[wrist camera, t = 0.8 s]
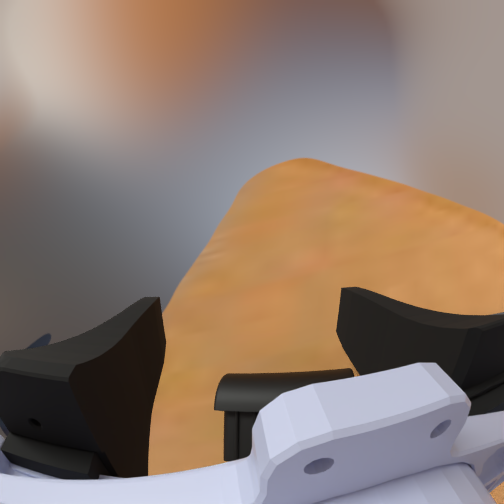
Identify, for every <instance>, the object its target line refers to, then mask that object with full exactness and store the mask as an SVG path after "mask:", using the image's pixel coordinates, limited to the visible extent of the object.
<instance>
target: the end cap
mask: <svg viewBox="0 0 504 504" xmlns="http://www.w3.org/2000/svg"><path fill="white" fill-rule="evenodd" d="M352 377H354V373H353V371H352V369H350V368H346V369H336V370H323V371H309V372H290V373H253V374H226V375H224V376H223V377H222V379H221V380H220V382H219V385H218V388H217V391H216V396H215V402H214V410H219V411H224V461H229V462H230V461H235V460H238V459H242V458H246V457H248V456H249V455H250V454H251V450H252V428H253V426H254V423H255V421H256V418H257V416H258V414H259V411H260V410H261V409H262V408H264V407H265V406H266V405H268V404H269V403H270V402H272V401H273V400H274V399H276V398H277V397H278V396H279V395H281V394H282V393H285V392H288V391H292V390H295V389H298V388H301V387H304V386H307V385H310V384H315V383H322V382H328V381H335V380H341V379H346V378H352Z"/></svg>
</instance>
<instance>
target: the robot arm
mask: <svg viewBox="0 0 504 504" xmlns="http://www.w3.org/2000/svg"><path fill="white" fill-rule="evenodd" d="M336 332H337V335H338V337H339V340H340V342H341V344H342V347H343V349H344V351H345V352H346V354H347V355H348V357H349V359H350V360H351V362H352V363H353V365H354V367H355V368H356V370H357V371H358V373H359V374H360V376H357V377H352V378H346V379H341V380H335V381H328V382H322V383H315V384H310V385H307V386H304V387H301V388H298V389H295V390H292V391H288V392H285V393H282V394H281V395H279V396H278V397H277V398H276V399H274V400H273V401H272V402H270V403H269V404H268V405H266V406H265V407H264V408H262V409H261V410H260V411H259V414H258V416H257V418H256V421H255V423H254V426H253V428H252V450H251V454H250V455H249V456H248V457H246V458H242V459H238V460H235V461H230V462H226V463H222V464H217V465H213V466H208V467H203V468H198V469H193V470H187V471H181V472H175V473H168V474H161V475H153V476H148V452H149V436H150V424H151V414H152V409H153V403H154V399H155V395H156V391H157V388H158V384H159V380H160V376H161V372H162V368H163V364H164V357H165V348H166V339H165V332H164V326H163V319H162V311H161V304H160V297H144V298H142V299H140V300H139V301H137V302H135V303H134V304H132V305H131V306H129V307H128V308H126V309H125V310H124V311H122V312H121V313H119V314H117V315H116V316H114V317H113V318H111V319H110V320H108V321H106V322H104V323H103V324H101V325H99V326H97V327H96V328H93V329H92V330H89V331H87V332H85V333H83V334H80V335H78V336H75V337H72V338H70V339H67V340H64V341H61V342H58V343H54V344H50V345H46V346H42V347H37V348H31V349H23V350H14V351H5V352H4V353H3V354H2V355H1V356H0V417H1V419H2V421H3V422H4V424H5V426H6V427H7V429H8V430H9V434H8V436H7V438H6V439H5V438H3V437H2V436H1V435H0V504H497V503H496V502H495V500H494V499H493V498H492V496H491V495H490V492H491V491H492V490H494V489H495V488H496V487H497V486H499V485H500V484H501V483H502V482H503V481H504V314H499V315H459V314H450V313H443V312H437V311H432V310H428V309H423V308H420V307H416V306H413V305H409V304H406V303H403V302H400V301H397V300H394V299H391V298H389V297H386V296H383V295H381V294H378V293H375V292H372V291H369V290H366V289H363V288H359V287H347V288H341V297H340V306H339V314H338V322H337V329H336Z"/></svg>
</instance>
